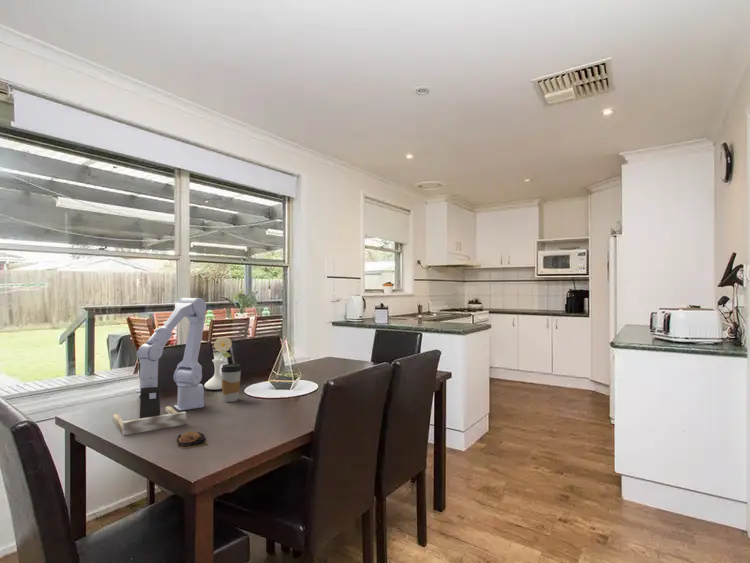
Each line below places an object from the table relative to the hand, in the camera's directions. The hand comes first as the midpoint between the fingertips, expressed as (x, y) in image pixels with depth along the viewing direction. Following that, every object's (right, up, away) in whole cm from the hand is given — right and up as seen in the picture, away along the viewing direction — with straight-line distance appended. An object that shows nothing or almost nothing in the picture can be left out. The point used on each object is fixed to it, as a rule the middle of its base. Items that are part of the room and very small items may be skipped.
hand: (147, 414), depth 154 cm
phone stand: (+2, -1, -2) cm, 3 cm away
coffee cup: (+20, -3, +29) cm, 36 cm away
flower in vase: (+7, -3, +50) cm, 50 cm away
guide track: (+1, -2, -1) cm, 2 cm away
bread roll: (+25, -3, -21) cm, 33 cm away
